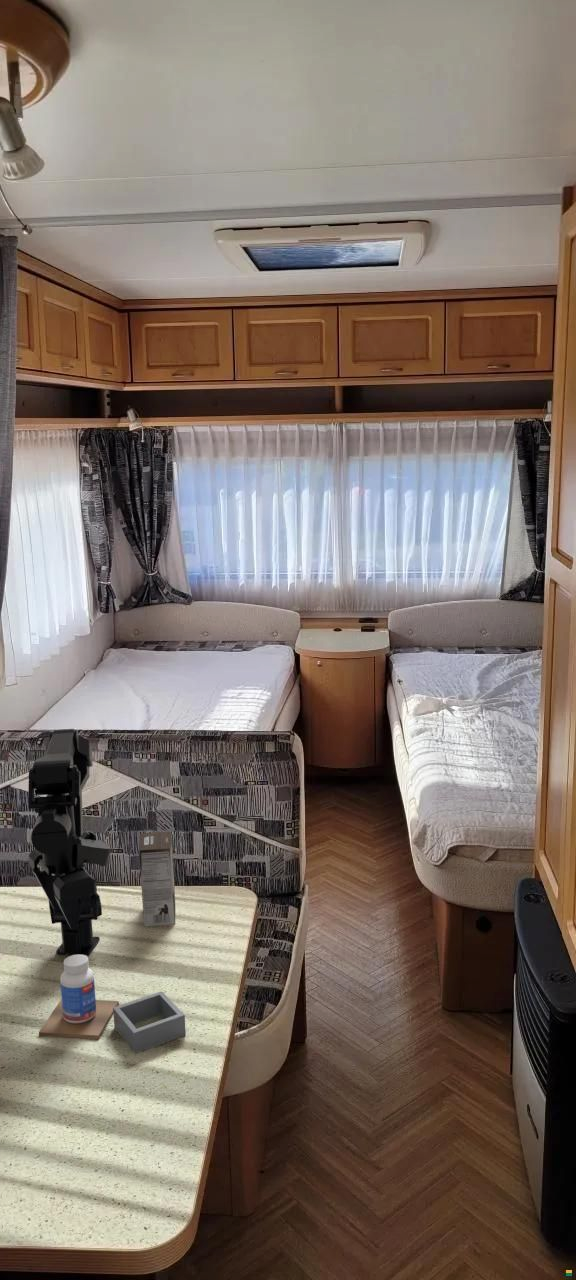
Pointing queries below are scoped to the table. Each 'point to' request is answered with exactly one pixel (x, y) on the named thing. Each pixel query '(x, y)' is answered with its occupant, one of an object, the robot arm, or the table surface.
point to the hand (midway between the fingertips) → (65, 918)
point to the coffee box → (157, 878)
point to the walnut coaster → (87, 1029)
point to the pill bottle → (77, 990)
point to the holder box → (153, 1032)
